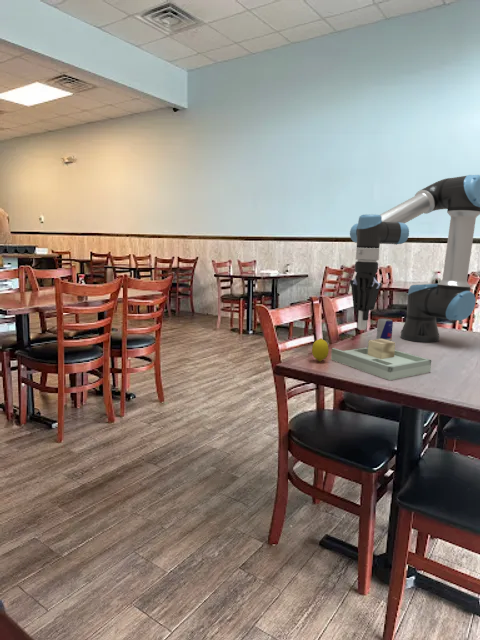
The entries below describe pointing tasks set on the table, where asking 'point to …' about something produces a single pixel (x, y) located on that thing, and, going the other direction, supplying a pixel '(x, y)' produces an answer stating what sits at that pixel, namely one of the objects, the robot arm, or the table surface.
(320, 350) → the lemon
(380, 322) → the energy drink
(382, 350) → the maple block
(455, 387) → the table surface
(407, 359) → the sage tray
